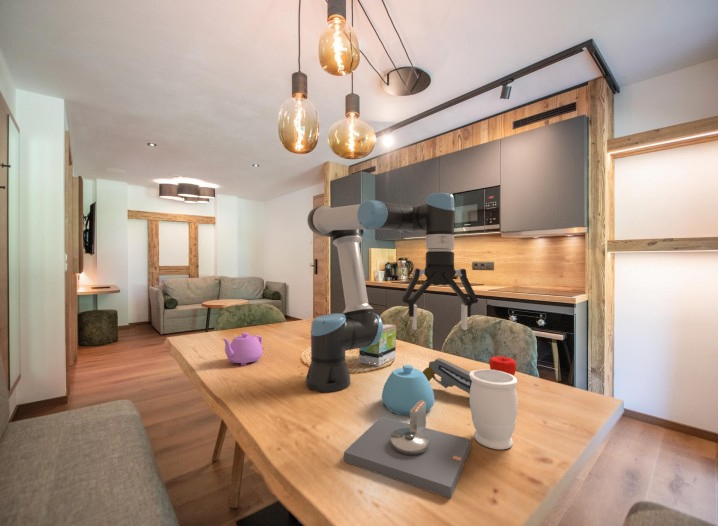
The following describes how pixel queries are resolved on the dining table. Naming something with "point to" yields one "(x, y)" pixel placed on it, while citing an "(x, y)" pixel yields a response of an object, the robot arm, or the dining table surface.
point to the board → (411, 457)
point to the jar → (493, 407)
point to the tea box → (380, 348)
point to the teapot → (244, 349)
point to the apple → (503, 364)
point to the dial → (412, 433)
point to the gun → (448, 374)
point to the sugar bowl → (407, 390)
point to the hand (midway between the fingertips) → (439, 328)
